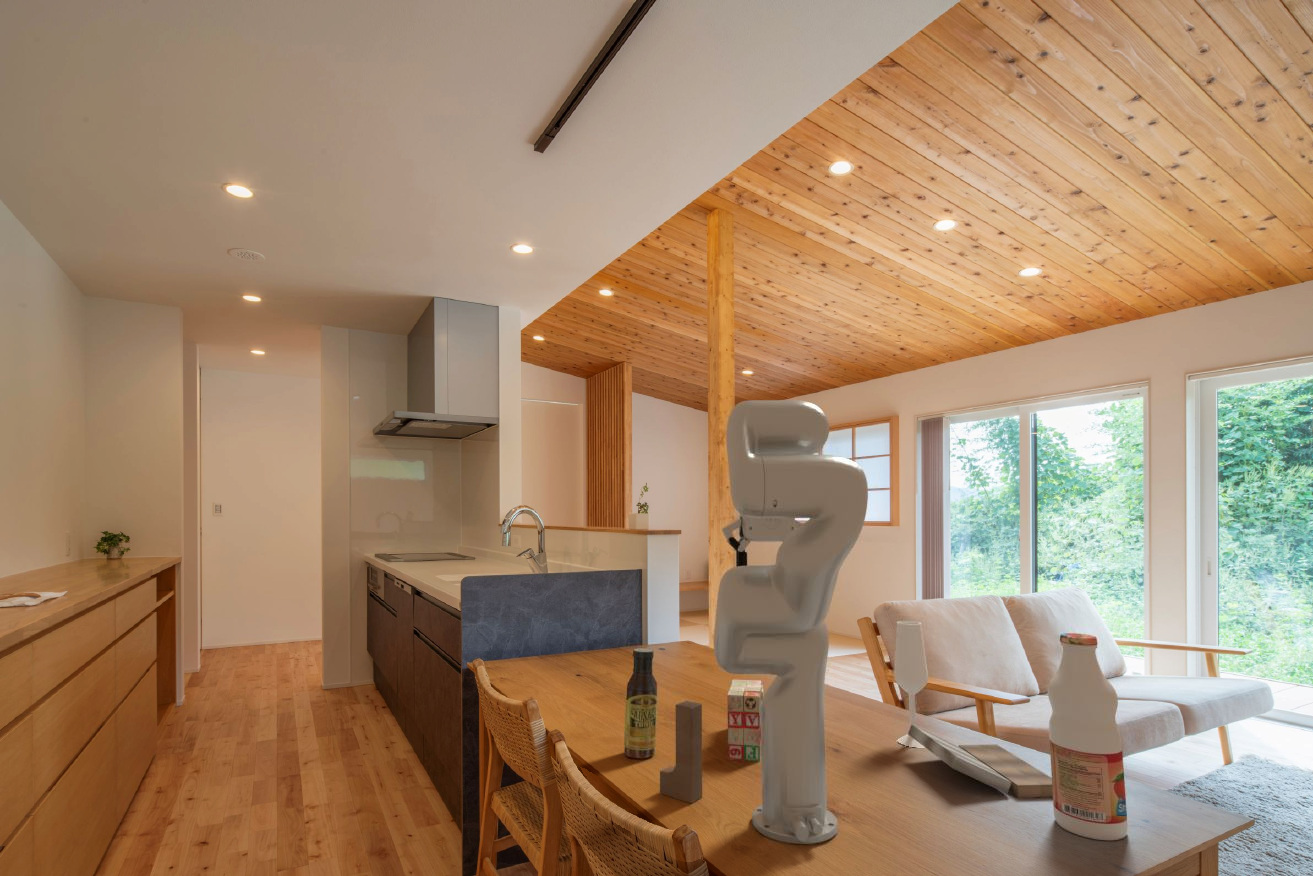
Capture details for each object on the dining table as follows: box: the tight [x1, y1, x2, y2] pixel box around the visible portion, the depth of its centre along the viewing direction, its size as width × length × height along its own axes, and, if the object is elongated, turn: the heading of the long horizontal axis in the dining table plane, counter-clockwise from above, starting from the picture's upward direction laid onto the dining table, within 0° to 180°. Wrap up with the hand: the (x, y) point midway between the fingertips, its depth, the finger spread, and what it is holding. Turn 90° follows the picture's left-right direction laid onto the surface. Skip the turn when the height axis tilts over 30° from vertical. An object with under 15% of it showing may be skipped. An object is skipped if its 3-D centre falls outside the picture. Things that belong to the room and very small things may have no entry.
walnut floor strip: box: [958, 743, 1053, 799], centre depth 124 cm, size 20×8×2 cm, turn 3°
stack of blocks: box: [727, 679, 764, 762], centre depth 142 cm, size 21×6×12 cm, turn 169°
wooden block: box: [659, 700, 703, 804], centre depth 116 cm, size 7×3×15 cm, turn 53°
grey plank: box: [907, 725, 1012, 794], centre depth 124 cm, size 18×10×2 cm, turn 3°
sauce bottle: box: [623, 647, 658, 760], centre depth 135 cm, size 7×6×20 cm
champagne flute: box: [893, 620, 929, 749], centre depth 143 cm, size 7×7×24 cm
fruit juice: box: [1047, 632, 1128, 841], centre depth 105 cm, size 9×9×28 cm
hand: (767, 572), depth 131 cm, fingers open, 9 cm apart
